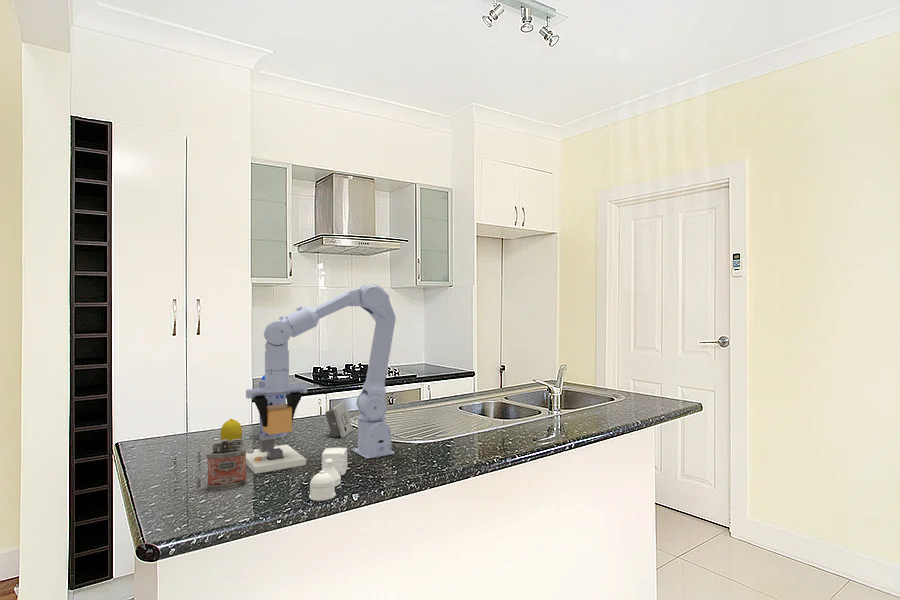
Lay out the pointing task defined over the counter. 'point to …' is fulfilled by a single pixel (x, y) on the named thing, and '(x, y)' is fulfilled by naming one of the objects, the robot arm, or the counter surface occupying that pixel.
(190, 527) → the counter surface
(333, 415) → the electrical switch
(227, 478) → the lighter
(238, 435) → the lemon
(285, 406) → the small cardboard box
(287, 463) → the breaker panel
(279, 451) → the button
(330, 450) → the container set
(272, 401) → the aerosol can
